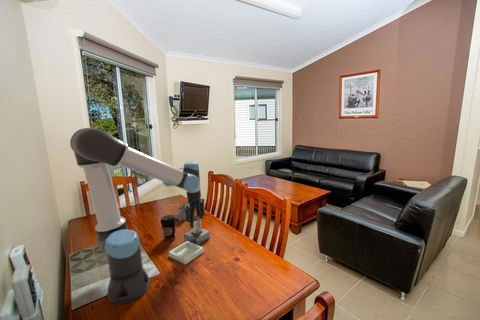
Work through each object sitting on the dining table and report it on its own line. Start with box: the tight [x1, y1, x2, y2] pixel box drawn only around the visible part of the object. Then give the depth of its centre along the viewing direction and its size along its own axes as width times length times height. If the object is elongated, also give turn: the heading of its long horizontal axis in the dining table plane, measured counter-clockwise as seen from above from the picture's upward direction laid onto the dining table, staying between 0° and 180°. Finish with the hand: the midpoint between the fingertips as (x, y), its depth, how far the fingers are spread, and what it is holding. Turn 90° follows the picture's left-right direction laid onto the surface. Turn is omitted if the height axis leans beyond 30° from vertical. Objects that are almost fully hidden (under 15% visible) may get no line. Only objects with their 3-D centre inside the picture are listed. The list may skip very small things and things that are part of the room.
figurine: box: [174, 203, 186, 223], centre depth 155 cm, size 8×10×11 cm
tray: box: [168, 241, 205, 266], centre depth 114 cm, size 12×12×2 cm
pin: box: [193, 213, 201, 236], centre depth 127 cm, size 4×4×14 cm
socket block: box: [183, 228, 211, 246], centre depth 128 cm, size 10×10×4 cm
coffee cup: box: [159, 214, 177, 242], centre depth 129 cm, size 9×8×13 cm
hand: (196, 230), depth 128 cm, fingers closed on pin, 4 cm apart
